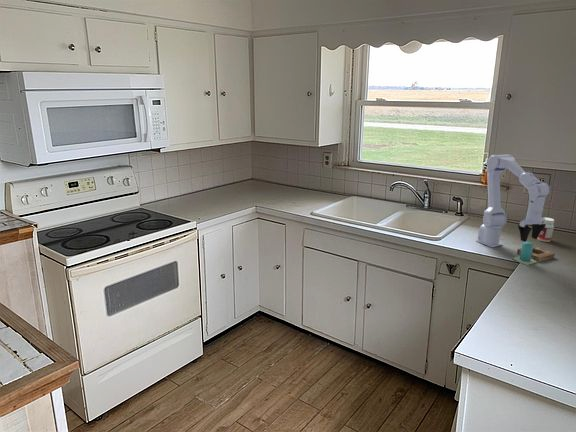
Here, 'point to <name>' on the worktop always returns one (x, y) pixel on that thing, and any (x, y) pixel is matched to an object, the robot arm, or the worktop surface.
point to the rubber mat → (524, 261)
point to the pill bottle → (547, 230)
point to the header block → (539, 254)
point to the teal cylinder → (526, 251)
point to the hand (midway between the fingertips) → (528, 239)
